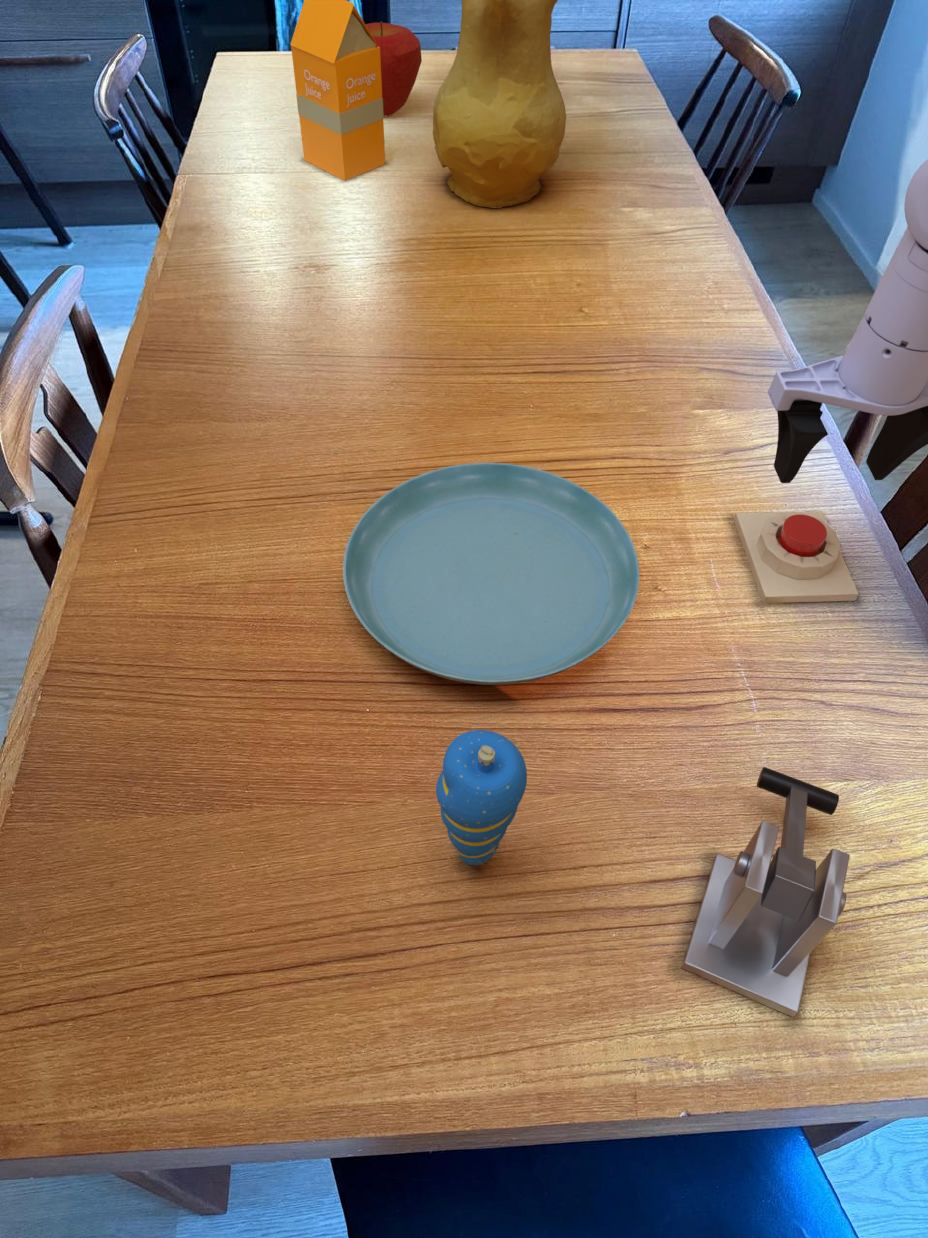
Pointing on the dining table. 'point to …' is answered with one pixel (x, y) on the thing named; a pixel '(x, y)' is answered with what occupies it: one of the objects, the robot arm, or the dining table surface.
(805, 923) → the bracket
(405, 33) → the apple
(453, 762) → the ornament
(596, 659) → the dining table surface
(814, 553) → the button
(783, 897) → the lever
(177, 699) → the dining table surface
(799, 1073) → the dining table surface
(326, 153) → the orange juice
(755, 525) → the button block
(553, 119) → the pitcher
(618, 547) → the teal plate
